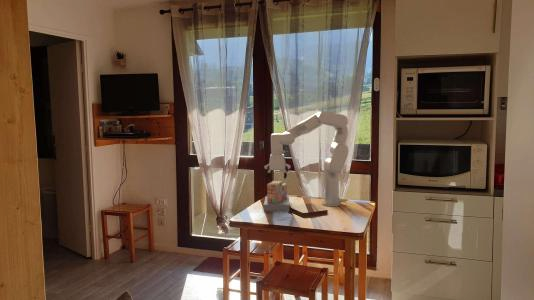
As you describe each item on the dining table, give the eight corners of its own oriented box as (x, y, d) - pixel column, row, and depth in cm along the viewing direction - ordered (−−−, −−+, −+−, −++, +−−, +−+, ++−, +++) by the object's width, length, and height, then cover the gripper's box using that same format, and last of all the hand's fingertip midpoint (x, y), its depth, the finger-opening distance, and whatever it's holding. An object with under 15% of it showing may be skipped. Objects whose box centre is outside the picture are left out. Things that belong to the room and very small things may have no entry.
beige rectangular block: (278, 196, 292) (278, 178, 291) (287, 196, 290) (287, 179, 289) (267, 202, 272) (266, 183, 271) (276, 203, 270) (276, 184, 269)
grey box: (289, 203, 293) (289, 196, 293) (289, 212, 267) (289, 204, 267) (265, 203, 294) (265, 196, 293) (263, 212, 268) (263, 204, 267)
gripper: (290, 151, 279) (291, 177, 281) (264, 152, 282) (265, 177, 284) (289, 153, 272) (290, 179, 274) (262, 153, 275) (263, 179, 277)
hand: (277, 178), depth 279 cm, fingers open, 9 cm apart
